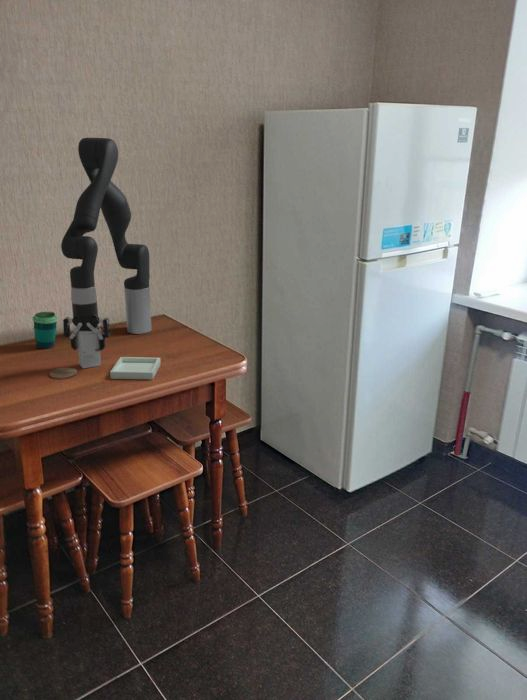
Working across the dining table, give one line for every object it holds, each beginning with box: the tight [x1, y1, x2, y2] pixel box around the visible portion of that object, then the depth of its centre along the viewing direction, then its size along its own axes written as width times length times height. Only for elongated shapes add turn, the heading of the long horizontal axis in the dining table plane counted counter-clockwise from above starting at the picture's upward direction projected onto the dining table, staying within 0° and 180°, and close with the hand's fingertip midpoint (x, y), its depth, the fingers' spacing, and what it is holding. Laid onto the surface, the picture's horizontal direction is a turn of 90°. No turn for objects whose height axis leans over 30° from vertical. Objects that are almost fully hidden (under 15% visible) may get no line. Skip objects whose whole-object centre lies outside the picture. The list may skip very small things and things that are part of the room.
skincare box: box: [76, 329, 102, 369], centre depth 182 cm, size 6×4×12 cm
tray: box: [109, 356, 162, 380], centre depth 180 cm, size 13×13×2 cm
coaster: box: [49, 367, 78, 380], centre depth 177 cm, size 8×8×1 cm
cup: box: [32, 311, 58, 350], centre depth 199 cm, size 8×8×12 cm
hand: (88, 349), depth 182 cm, fingers open, 8 cm apart
